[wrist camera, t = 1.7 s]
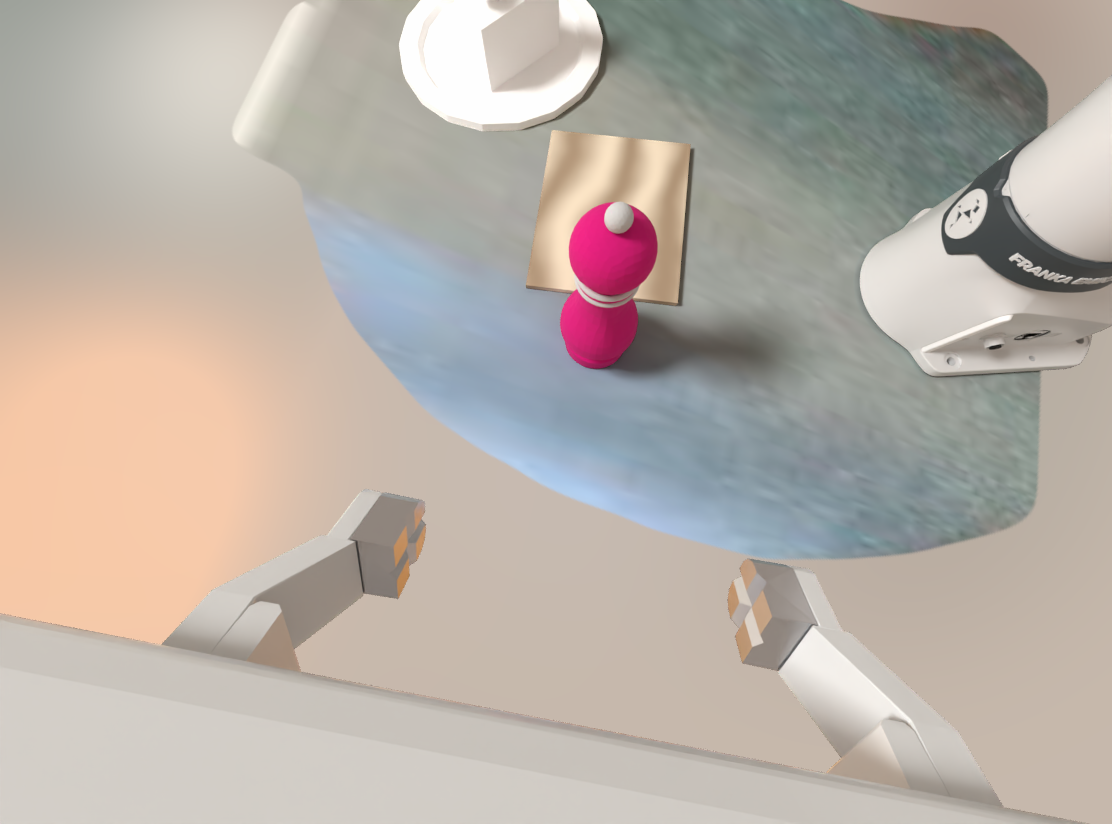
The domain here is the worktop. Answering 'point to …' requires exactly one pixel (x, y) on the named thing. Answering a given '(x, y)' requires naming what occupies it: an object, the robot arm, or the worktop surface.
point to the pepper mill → (606, 282)
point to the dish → (500, 59)
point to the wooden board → (610, 176)
